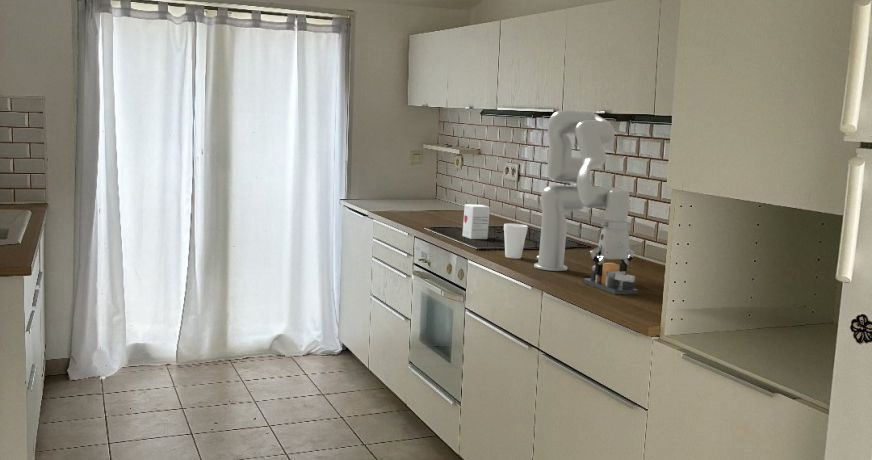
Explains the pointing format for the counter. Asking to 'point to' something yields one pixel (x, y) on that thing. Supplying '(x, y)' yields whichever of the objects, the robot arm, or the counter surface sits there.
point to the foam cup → (514, 239)
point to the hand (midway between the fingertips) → (610, 275)
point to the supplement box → (476, 221)
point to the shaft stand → (613, 282)
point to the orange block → (608, 268)
